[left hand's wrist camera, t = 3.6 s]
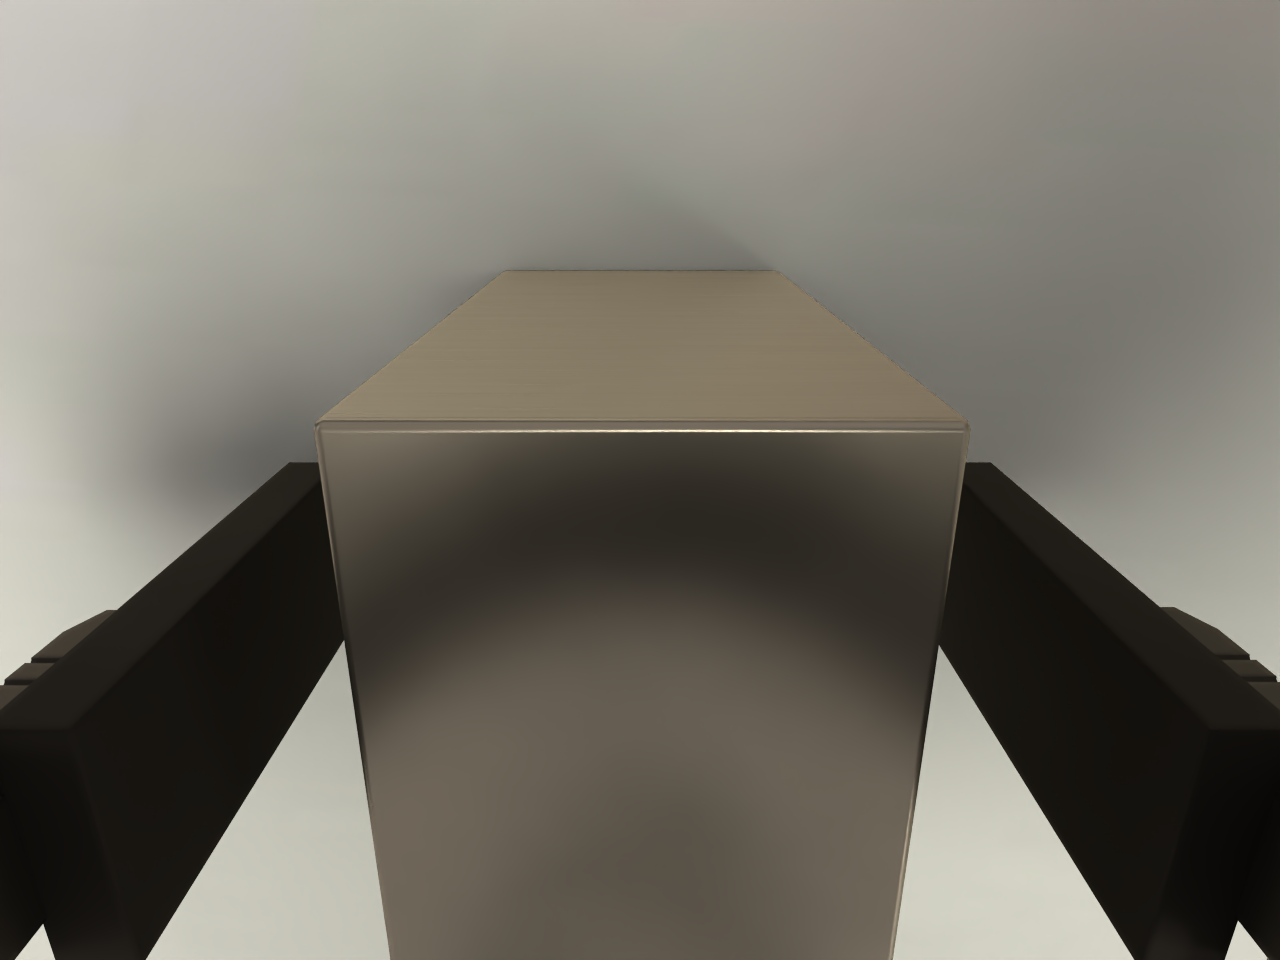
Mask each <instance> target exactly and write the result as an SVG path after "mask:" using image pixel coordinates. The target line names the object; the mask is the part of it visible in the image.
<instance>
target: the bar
mask: <svg viewBox="0 0 1280 960" xmlns="http://www.w3.org/2000/svg"><path fill="white" fill-rule="evenodd" d="M314 434H315V441H316V448H317V455H318V462H319V469H320V475H321V482H322V489H323V496H324V503H325V510H326V517H327V524H328V531H329V538H330V545H331V551H332V558H333V565H334V572H335V579H336V586H337V593H338V600H339V607H340V614H341V620H342V627H343V634H344V641H345V648H346V655H347V662H348V669H349V676H350V683H351V690H352V696H353V703H354V710H355V717H356V724H357V731H358V738H359V745H360V752H361V759H362V766H363V772H364V779H365V786H366V793H367V800H368V807H369V814H370V821H371V828H372V835H373V841H374V848H375V855H376V862H377V869H378V876H379V883H380V890H381V897H382V904H383V911H384V917H385V924H386V931H387V938H388V945H389V952H390V959H391V960H893V953H894V947H895V940H896V933H897V926H898V919H899V913H900V906H901V899H902V892H903V885H904V878H905V872H906V865H907V858H908V851H909V844H910V837H911V831H912V824H913V817H914V810H915V803H916V797H917V790H918V783H919V776H920V769H921V762H922V756H923V749H924V742H925V735H926V728H927V722H928V715H929V708H930V701H931V694H932V687H933V681H934V674H935V667H936V660H937V653H938V647H939V640H940V633H941V626H942V619H943V612H944V606H945V599H946V592H947V585H948V578H949V571H950V565H951V558H952V551H953V544H954V537H955V531H956V524H957V517H958V510H959V503H960V496H961V490H962V483H963V476H964V469H965V462H966V456H967V449H968V442H969V435H970V426H969V423H968V421H967V420H966V419H965V418H964V417H962V416H961V415H960V414H959V413H957V412H956V411H955V410H953V409H952V408H951V407H950V406H948V405H947V404H946V403H945V402H943V401H942V400H941V399H940V398H938V397H937V396H936V395H934V394H933V393H932V392H931V391H929V390H928V389H927V388H926V387H924V386H923V385H922V384H920V383H919V382H918V381H917V380H915V379H914V378H913V377H912V376H910V375H909V374H908V373H907V372H905V371H904V370H903V369H901V368H900V367H899V366H898V365H896V364H895V363H894V362H893V361H891V360H890V359H889V358H888V357H886V356H885V355H884V354H882V353H881V352H880V351H879V350H877V349H876V348H875V347H874V346H872V345H871V344H870V343H868V342H867V341H866V340H865V339H863V338H862V337H861V336H860V335H858V334H857V333H856V332H855V331H853V330H852V329H851V328H849V327H848V326H847V325H846V324H844V323H843V322H842V321H841V320H839V319H838V318H837V317H836V316H834V315H833V314H832V313H830V312H829V311H828V310H827V309H825V308H824V307H823V306H822V305H820V304H819V303H818V302H816V301H815V300H814V299H813V298H811V297H810V296H809V295H808V294H806V293H805V292H804V291H803V290H801V289H800V288H799V287H797V286H796V285H795V284H794V283H792V282H791V281H790V280H789V279H787V278H786V277H785V276H784V275H782V274H781V273H780V272H778V271H504V272H502V273H501V274H500V275H499V276H497V277H496V278H495V279H494V280H492V281H491V282H490V283H489V284H487V285H486V286H485V287H483V288H482V289H481V290H480V291H478V292H477V293H476V294H475V295H473V296H472V297H471V298H470V299H468V300H467V301H466V302H465V303H463V304H462V305H461V306H460V307H458V308H457V309H456V310H455V311H453V312H452V313H451V314H450V315H448V316H447V317H446V318H445V319H443V320H442V321H441V322H440V323H438V324H437V325H436V326H435V327H433V328H432V329H431V330H430V331H428V332H427V333H426V334H425V335H423V336H422V337H421V338H420V339H418V340H417V341H416V342H415V343H413V344H412V345H411V346H410V347H408V348H407V349H406V350H404V351H403V352H402V353H401V354H399V355H398V356H397V357H396V358H394V359H393V360H392V361H391V362H389V363H388V364H387V365H386V366H384V367H383V368H382V369H381V370H379V371H378V372H377V373H376V374H374V375H373V376H372V377H371V378H369V379H368V380H367V381H366V382H364V383H363V384H362V385H361V386H359V387H358V388H357V389H356V390H354V391H353V392H352V393H351V394H349V395H348V396H347V397H346V398H344V399H343V400H342V401H341V402H339V403H338V404H337V405H336V406H334V407H333V408H332V409H331V410H329V411H328V412H327V413H325V414H324V415H323V416H322V417H320V418H319V419H318V420H317V421H316V424H315V427H314Z"/></svg>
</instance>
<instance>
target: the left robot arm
mask: <svg viewBox="0 0 1280 960" xmlns="http://www.w3.org/2000/svg"><path fill="white" fill-rule="evenodd" d="M343 641H344V634H343V627H342V620H341V614H340V607H339V600H338V593H337V586H336V579H335V572H334V565H333V558H332V551H331V545H330V538H329V531H328V524H327V517H326V510H325V503H324V496H323V489H322V482H321V475H320V469H319V463H288V464H287V465H286V466H285V467H284V468H282V469H281V470H280V471H279V472H278V473H277V474H275V475H274V476H273V477H272V478H271V479H270V480H268V481H267V482H266V483H265V484H264V485H263V486H261V487H260V488H259V489H258V490H257V491H256V492H254V493H253V494H252V495H251V496H250V497H248V498H247V499H246V500H245V501H244V502H243V503H241V504H240V505H239V506H238V507H237V508H236V509H234V510H233V511H232V512H231V513H230V514H229V515H227V516H226V517H225V518H224V519H223V520H222V521H220V522H219V523H218V524H217V525H216V526H215V527H213V528H212V529H211V530H210V531H209V532H208V533H206V534H205V535H204V536H203V537H202V538H201V539H199V540H198V541H197V542H196V543H195V544H194V545H192V546H191V547H190V548H189V549H188V550H187V551H185V552H184V553H183V554H182V555H181V556H180V557H178V558H177V559H176V560H175V561H174V562H173V563H171V564H170V565H169V566H168V567H167V568H166V569H164V570H163V571H162V572H161V573H160V574H158V575H157V576H156V577H155V578H154V579H153V580H151V581H150V582H149V583H148V584H147V585H146V586H144V587H143V588H142V589H141V590H140V591H139V592H137V593H136V594H135V595H134V596H133V597H132V598H130V599H129V600H128V601H127V602H126V603H125V604H123V605H122V606H121V607H120V608H119V609H118V610H106V611H104V612H102V613H100V614H98V615H96V616H94V617H92V618H90V619H88V620H86V621H84V622H82V623H80V624H78V625H76V626H74V627H72V628H70V629H68V630H66V631H64V632H63V633H61V634H60V635H59V636H58V637H57V638H55V639H54V640H53V641H52V642H50V643H49V644H48V645H47V646H45V647H44V648H43V649H42V650H41V651H39V652H38V653H37V654H36V655H34V656H33V657H32V658H31V663H25V664H23V665H22V666H21V667H20V668H18V669H17V670H16V671H15V672H14V673H12V674H11V675H10V676H9V677H7V678H6V679H5V683H4V685H0V960H15V959H16V957H17V956H18V955H19V954H20V952H21V951H22V950H23V948H24V947H25V946H26V945H27V943H28V942H29V941H30V939H31V938H32V937H33V936H34V934H35V933H36V932H37V931H38V929H39V928H40V927H41V925H42V924H44V927H45V930H46V933H47V936H48V939H49V942H50V945H51V948H52V951H53V954H54V957H55V960H146V958H147V957H148V955H149V953H150V952H151V950H152V949H153V947H154V945H155V944H156V942H157V941H158V939H159V937H160V936H161V934H162V933H163V931H164V929H165V928H166V926H167V924H168V923H169V921H170V920H171V918H172V916H173V915H174V913H175V912H176V910H177V908H178V907H179V905H180V903H181V902H182V900H183V899H184V897H185V895H186V894H187V892H188V891H189V889H190V887H191V886H192V884H193V883H194V881H195V879H196V878H197V876H198V874H199V873H200V871H201V870H202V868H203V866H204V865H205V863H206V862H207V860H208V858H209V857H210V855H211V853H212V852H213V850H214V849H215V847H216V845H217V844H218V842H219V841H220V839H221V837H222V836H223V834H224V833H225V831H226V829H227V828H228V826H229V824H230V823H231V821H232V820H233V818H234V816H235V815H236V813H237V812H238V810H239V808H240V807H241V805H242V804H243V802H244V800H245V799H246V797H247V795H248V794H249V792H250V791H251V789H252V787H253V786H254V784H255V783H256V781H257V779H258V778H259V776H260V774H261V773H262V771H263V770H264V768H265V766H266V765H267V763H268V762H269V760H270V758H271V757H272V755H273V754H274V752H275V750H276V749H277V747H278V745H279V744H280V742H281V741H282V739H283V737H284V736H285V734H286V733H287V731H288V729H289V728H290V726H291V724H292V723H293V721H294V720H295V718H296V716H297V715H298V713H299V712H300V710H301V708H302V707H303V705H304V704H305V702H306V700H307V699H308V697H309V695H310V694H311V692H312V691H313V689H314V687H315V686H316V684H317V683H318V681H319V679H320V678H321V676H322V675H323V673H324V671H325V670H326V668H327V666H328V665H329V663H330V662H331V660H332V658H333V657H334V655H335V654H336V652H337V650H338V649H339V647H340V645H341V644H342V642H343ZM939 645H940V647H941V649H942V650H943V652H944V654H945V655H946V657H947V658H948V660H949V662H950V663H951V665H952V666H953V668H954V670H955V671H956V673H957V674H958V676H959V678H960V679H961V681H962V683H963V684H964V686H965V687H966V689H967V691H968V692H969V694H970V695H971V697H972V699H973V700H974V702H975V704H976V705H977V707H978V708H979V710H980V712H981V713H982V715H983V716H984V718H985V720H986V721H987V723H988V724H989V726H990V728H991V729H992V731H993V733H994V734H995V736H996V737H997V739H998V741H999V742H1000V744H1001V745H1002V747H1003V749H1004V750H1005V752H1006V753H1007V755H1008V757H1009V758H1010V760H1011V762H1012V763H1013V765H1014V766H1015V768H1016V770H1017V771H1018V773H1019V774H1020V776H1021V778H1022V779H1023V781H1024V783H1025V784H1026V786H1027V787H1028V789H1029V791H1030V792H1031V794H1032V795H1033V797H1034V799H1035V800H1036V802H1037V803H1038V805H1039V807H1040V808H1041V810H1042V812H1043V813H1044V815H1045V816H1046V818H1047V820H1048V821H1049V823H1050V824H1051V826H1052V828H1053V829H1054V831H1055V833H1056V834H1057V836H1058V837H1059V839H1060V841H1061V842H1062V844H1063V845H1064V847H1065V849H1066V850H1067V852H1068V853H1069V855H1070V857H1071V858H1072V860H1073V862H1074V863H1075V865H1076V866H1077V868H1078V870H1079V871H1080V873H1081V874H1082V876H1083V878H1084V879H1085V881H1086V882H1087V884H1088V886H1089V887H1090V889H1091V891H1092V892H1093V894H1094V895H1095V897H1096V899H1097V900H1098V902H1099V903H1100V905H1101V907H1102V908H1103V910H1104V912H1105V913H1106V915H1107V916H1108V918H1109V920H1110V921H1111V923H1112V924H1113V926H1114V928H1115V929H1116V931H1117V932H1118V934H1119V936H1120V937H1121V939H1122V941H1123V942H1124V944H1125V945H1126V947H1127V949H1128V950H1129V952H1130V953H1131V955H1132V957H1133V958H1134V960H1225V957H1226V954H1227V951H1228V948H1229V945H1230V942H1231V939H1232V936H1233V933H1234V930H1235V927H1236V925H1237V922H1238V921H1239V922H1240V923H1241V924H1242V926H1243V927H1244V928H1245V930H1246V931H1247V932H1248V933H1249V935H1250V936H1251V937H1252V938H1253V940H1254V941H1255V942H1256V943H1257V945H1258V946H1259V947H1260V949H1261V950H1262V951H1263V952H1264V954H1265V955H1266V956H1267V957H1268V958H1267V960H1280V682H1277V680H1276V676H1275V675H1274V674H1273V673H1272V672H1270V671H1269V670H1268V669H1267V668H1265V667H1264V666H1263V665H1262V664H1260V663H1259V662H1258V661H1257V660H1250V655H1249V654H1248V653H1247V652H1246V651H1244V650H1243V649H1242V648H1241V647H1239V646H1238V645H1237V644H1236V643H1234V642H1233V641H1232V640H1231V639H1229V638H1228V637H1227V636H1226V635H1225V634H1223V633H1222V632H1221V631H1220V630H1218V629H1217V628H1215V627H1213V626H1211V625H1209V624H1207V623H1205V622H1203V621H1201V620H1199V619H1197V618H1195V617H1193V616H1191V615H1189V614H1187V613H1185V612H1183V611H1181V610H1179V609H1177V608H1175V607H1159V606H1158V605H1157V604H1155V603H1154V602H1153V601H1152V600H1151V599H1150V598H1148V597H1147V596H1146V595H1145V594H1144V593H1143V592H1141V591H1140V590H1139V589H1138V588H1137V587H1136V586H1134V585H1133V584H1132V583H1131V582H1130V581H1129V580H1127V579H1126V578H1125V577H1124V576H1123V575H1122V574H1120V573H1119V572H1118V571H1117V570H1116V569H1115V568H1113V567H1112V566H1111V565H1110V564H1109V563H1107V562H1106V561H1105V560H1104V559H1103V558H1102V557H1100V556H1099V555H1098V554H1097V553H1096V552H1095V551H1093V550H1092V549H1091V548H1090V547H1089V546H1088V545H1086V544H1085V543H1084V542H1083V541H1082V540H1081V539H1079V538H1078V537H1077V536H1076V535H1075V534H1074V533H1072V532H1071V531H1070V530H1069V529H1068V528H1067V527H1065V526H1064V525H1063V524H1062V523H1061V522H1060V521H1058V520H1057V519H1056V518H1055V517H1054V516H1053V515H1051V514H1050V513H1049V512H1048V511H1047V510H1046V509H1044V508H1043V507H1042V506H1041V505H1040V504H1039V503H1037V502H1036V501H1035V500H1034V499H1033V498H1032V497H1030V496H1029V495H1028V494H1027V493H1026V492H1025V491H1023V490H1022V489H1021V488H1020V487H1019V486H1017V485H1016V484H1015V483H1014V482H1013V481H1012V480H1010V479H1009V478H1008V477H1007V476H1006V475H1005V474H1003V473H1002V472H1001V471H1000V470H999V469H998V468H996V467H995V466H994V465H993V464H992V463H965V469H964V476H963V483H962V490H961V496H960V503H959V510H958V517H957V524H956V531H955V537H954V544H953V551H952V558H951V565H950V571H949V578H948V585H947V592H946V599H945V606H944V612H943V619H942V626H941V633H940V640H939Z"/></svg>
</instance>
